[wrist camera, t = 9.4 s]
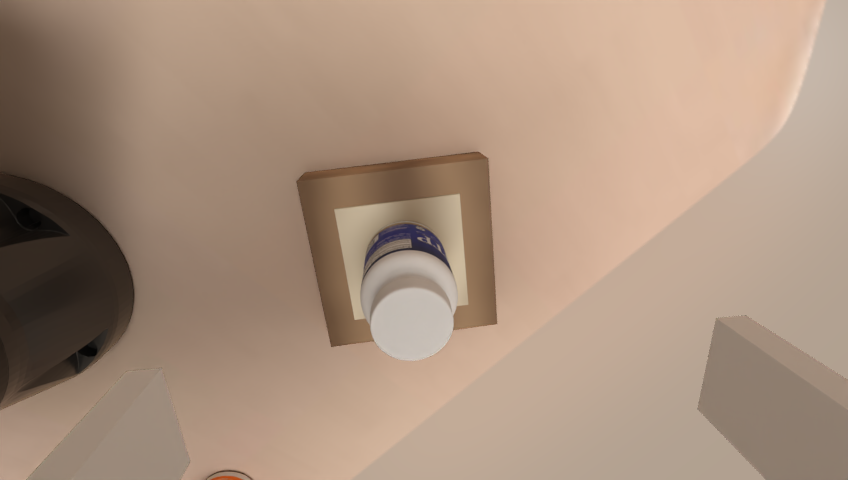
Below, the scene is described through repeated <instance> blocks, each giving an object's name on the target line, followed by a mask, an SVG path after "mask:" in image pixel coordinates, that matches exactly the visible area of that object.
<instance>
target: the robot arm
mask: <svg viewBox="0 0 848 480" xmlns="http://www.w3.org/2000/svg"><path fill="white" fill-rule="evenodd" d="M132 308H133V286H132V280H131V276H130V272H129V269H128V266H127V264H126V261H125V259H124V257H123V255H122V253H121V251H120V249H119V248H118V246H117V244H116V243H115V242H114V240H113V239H112V237H111V236H110V235H109V234H108V232H107V231H106V230H105V229H104V228H103V227H102V225H101V224H100V223H99V222H98V221H97V220H96V219H95V218H94V217H92V216H91V215H90V214H89V213H88V212H87V211H85V210H84V209H83V208H82V207H80V206H79V205H78V204H76V203H75V202H73V201H72V200H70V199H69V198H67V197H65V196H64V195H62V194H60V193H58V192H56V191H54V190H52V189H50V188H48V187H46V186H43V185H41V184H38V183H36V182H33V181H30V180H27V179H23V178H19V177H15V176H11V175H5V174H0V410H2V409H4V408H6V407H8V406H11V405H13V404H15V403H17V402H20V401H22V400H24V399H26V398H29V397H31V396H33V395H35V394H38V393H40V392H42V391H44V390H47V389H49V388H51V387H53V386H56V385H58V384H60V383H62V382H65V381H67V380H69V379H71V378H73V377H75V376H77V375H79V374H80V373H82V372H83V371H85V370H86V369H88V368H89V367H91V366H92V365H93V364H94V363H95V362H96V361H98V360H99V359H100V358H101V357H102V356H103V355H104V354H105V353H106V352H107V351H108V350H109V349H110V348H111V347H112V346H113V345H114V344H115V343H116V342H117V341H118V340H119V339H120V337H121V336H122V334H123V333H124V331H125V329H126V327H127V325H128V323H129V320H130V317H131V313H132ZM698 410H699V411H700V412H701V413H702V414H703V415H704V416H705V417H706V418H707V419H708V420H709V422H710V423H711V424H713V426H714V427H715V428H716V429H717V430H718V431H719V432H720V433H721V434H722V435H723V436H724V437H725V438H726V439H727V440H728V441H729V442H730V443H731V444H732V445H733V446H734V447H735V448H736V449H737V450H738V451H739V453H741V455H742V456H743V457H744V458H745V459H746V460H747V461H748V462H749V463H750V464H751V465H752V466H753V467H754V468H755V469H756V470H757V471H758V472H759V473H760V474H761V475H762V476H763V477H764V478H765V479H766V480H848V379H846V378H844V377H843V376H841V375H840V374H838V373H836V372H835V371H833V370H832V369H830V368H828V367H827V366H825V365H824V364H822V363H820V362H819V361H817V360H816V359H814V358H813V357H811V356H809V355H808V354H806V353H804V352H803V351H801V350H800V349H798V348H797V347H795V346H794V345H792V344H790V343H789V342H787V341H786V340H784V339H783V338H781V337H779V336H778V335H776V334H775V333H773V332H771V331H770V330H768V329H767V328H765V327H764V326H762V325H760V324H759V323H757V322H756V321H754V320H752V319H751V318H749V317H748V316H746V315H745V316H734V317H722V318H716V321H715V326H714V330H713V335H712V340H711V346H710V350H709V355H708V360H707V365H706V370H705V374H704V379H703V384H702V389H701V394H700V399H699V404H698ZM189 463H190V459H189V455H188V452H187V449H186V446H185V442H184V439H183V436H182V433H181V429H180V426H179V423H178V420H177V416H176V413H175V410H174V407H173V403H172V400H171V397H170V394H169V390H168V387H167V384H166V381H165V377H164V374H163V371H162V368H155V369H144V370H133V371H126V372H125V373H124V374H123V375H122V376H121V378H120V379H119V380H118V381H117V382H116V383H115V384H114V385H113V386H112V387H111V388H110V389H109V391H108V392H107V393H106V394H105V395H104V396H103V397H102V398H101V399H100V400H99V401H98V402H97V403H96V405H95V406H94V407H93V408H92V409H91V410H90V411H89V412H88V413H87V414H86V415H85V416H84V418H83V419H82V420H81V421H80V422H79V423H78V424H77V425H76V426H75V427H74V428H73V429H72V431H71V432H70V433H69V434H68V435H67V436H66V437H65V438H64V439H63V440H62V441H61V442H60V444H59V445H58V446H57V447H56V448H55V449H54V450H53V451H52V452H51V453H50V454H49V455H48V457H47V458H46V459H45V460H44V461H43V462H42V463H41V464H40V465H39V466H38V467H37V468H36V469H35V471H34V472H33V473H32V474H31V475H30V476H29V477H28V478H27V479H26V480H181V478H182V476H183V474H184V472H185V470H186V469H187V467H188V465H189Z"/></svg>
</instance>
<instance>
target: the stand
mask: <svg viewBox="0 0 848 480" xmlns="http://www.w3.org/2000/svg"><path fill="white" fill-rule="evenodd" d="M297 186H298V191H299V196H300V201H301V205H302V210H303V215H304V219H305V224H306V229H307V234H308V238H309V243H310V248H311V253H312V257H313V262H314V267H315V272H316V276H317V281H318V286H319V290H320V295H321V300H322V305H323V309H324V314H325V319H326V324H327V328H328V333H329V338H330V343H331V347H334V346H341V345H348V344H356V343H363V342H370V341H374V339H373V337H372V334H371V330H370V325H369V323H368V322H367V320H366V318H365V316H364V313H363V311H362V307H361V300H360V292H361V284H362V277H363V271H364V262H365V255H366V250H367V247H368V245H369V243H370V241H371V239H372V238H373V236H374V235H375V234H376V233H377V232H378V231H379V230H381V229H382V228H383V227H385V226H387V225H389V224H392V223H395V222H400V221H411V222H416V223H419V224H422V225H424V226H426V227H428V228H429V229H431V230H432V231H433V232H434V233H435V234H436V235H437V236H438V238H439V239H440V241H441V243H442V245H443V248H444V250H445V253H446V256H447V259H448V262H449V264H450V267H451V270H452V273H453V275H454V278H455V281H456V285H457V291H458V302H457V307H456V311H455V313H454V315H453V318H454V327H453V330H457V329H465V328H472V327H479V326H486V325H494V324H497V313H496V295H495V276H494V258H493V239H492V221H491V202H490V184H489V165H488V158H487V157H485V156H484V155H482V154H481V153H479V152H473V153H465V154H456V155H448V156H440V157H431V158H423V159H415V160H406V161H398V162H390V163H381V164H373V165H365V166H356V167H348V168H340V169H331V170H323V171H315V172H306V173H304V174H303V175H302V176H301V178H300V179H299V180H298V181H297Z"/></svg>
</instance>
